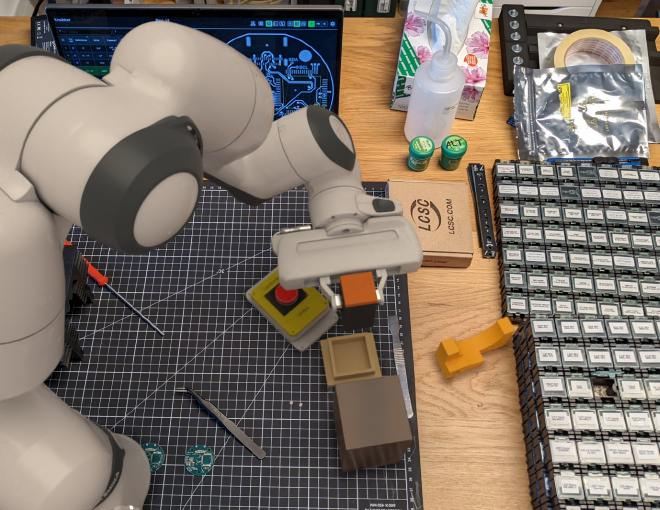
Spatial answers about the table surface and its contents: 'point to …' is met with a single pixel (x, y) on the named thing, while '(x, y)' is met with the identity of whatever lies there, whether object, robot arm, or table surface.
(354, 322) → the orange and black block
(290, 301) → the emergency button
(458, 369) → the orange curved piece
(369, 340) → the base pad
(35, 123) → the robot arm
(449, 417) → the table surface
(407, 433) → the stand
